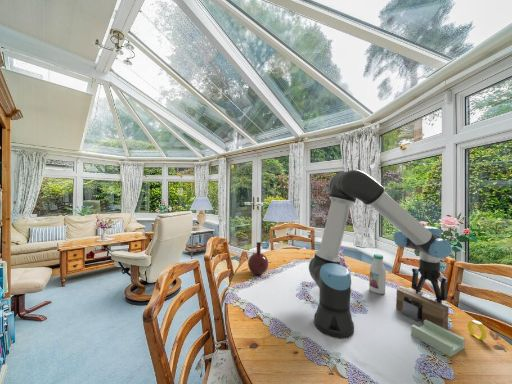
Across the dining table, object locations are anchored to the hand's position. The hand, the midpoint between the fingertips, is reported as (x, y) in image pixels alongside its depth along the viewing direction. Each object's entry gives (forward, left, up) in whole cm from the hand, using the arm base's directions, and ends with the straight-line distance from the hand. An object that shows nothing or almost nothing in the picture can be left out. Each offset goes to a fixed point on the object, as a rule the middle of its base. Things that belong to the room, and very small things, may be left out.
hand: (427, 309), depth 100 cm
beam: (-10, -2, -1) cm, 11 cm away
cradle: (-21, -13, -1) cm, 25 cm away
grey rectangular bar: (-6, 0, 0) cm, 6 cm away
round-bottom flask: (-55, +68, -1) cm, 88 cm away
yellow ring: (-4, -18, -1) cm, 18 cm away
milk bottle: (-4, +22, -1) cm, 23 cm away
